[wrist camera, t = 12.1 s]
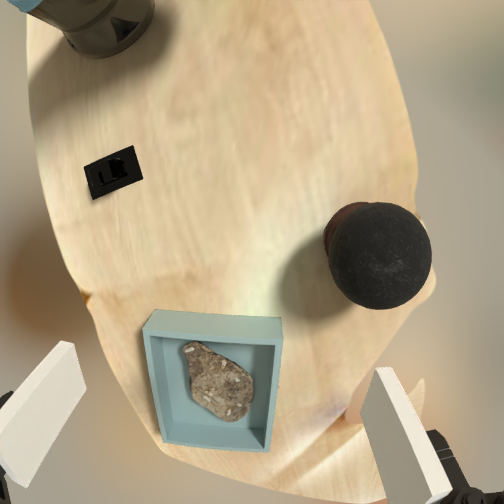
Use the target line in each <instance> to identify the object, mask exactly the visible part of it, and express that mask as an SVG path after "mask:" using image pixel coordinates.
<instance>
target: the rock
mask: <svg viewBox="0 0 504 504" xmlns="http://www.w3.org/2000/svg"><path fill="white" fill-rule="evenodd" d="M183 353H184V355H185V357H186V359H187V362H188V365H189V377H190V379H189V384H190V391H191V392H192V394H193V399H194V400H195V401H196V402H197V403H198V404H199V405H202V406H203V407H205V408H208V409H209V410H210V411H212V412H213V413H214V414H215V415H216V416H218V417H220V418H221V419H222V420H224V421H225V422H235V421H238V420H239V419H241V418H243V417H244V416H245V415H246V414H247V412H248V411H249V410H250V406H251V404H250V403H251V402H252V400H253V397H254V387H253V379H252V377H251V375H250V374H249V373H248V372H247V371H245V370H244V369H243V368H242V367H241V366H239V365H238V364H237V363H236V362H234V361H231V360H229V359H228V358H226V357H224V356H222V355H220V354H217V353H215V352H214V351H213V350H212V349H210V348H208V347H207V346H206V345H204V344H203V343H201V342H200V341H193V342H191V343H188V344H186V345H185V346H184V348H183Z"/></svg>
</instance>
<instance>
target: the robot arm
mask: <svg viewBox="0 0 504 504" xmlns="http://www.w3.org/2000/svg"><path fill="white" fill-rule="evenodd" d="M7 1H8V2H9V3H11V4H12V5H14V6H16V7H17V8H19V10H20V11H21V12H25V13H27V14H30V15H32V16H34V17H36V18H38V19H40V20H42V21H44V22H46V23H48V24H50V25H52V26H54V27H56V28H58V29H60V30H61V31H62V32H63V34H64V35H65V37H66V38H67V40H68V42H69V44H70V46H71V47H72V48H73V49H74V50H75V51H76V52H78V53H80V54H82V55H84V56H86V57H89V58H105V57H109V56H112V55H115V54H117V53H119V52H121V51H123V50H124V49H126V48H127V47H129V46H130V45H131V44H133V43H134V42H135V41H136V40H137V39H138V38H139V37H140V36H141V35H142V34H143V32H144V31H145V30H146V28H147V27H148V25H149V23H150V21H151V19H152V17H153V13H154V7H155V4H154V0H7ZM86 390H87V388H86V385H85V382H84V378H83V375H82V372H81V368H80V365H79V361H78V358H77V354H76V350H75V346H74V344H73V343H69V342H64V341H60V342H59V343H58V344H57V345H56V346H55V348H54V349H53V350H52V351H51V352H50V353H49V354H48V355H47V356H46V357H45V358H44V359H43V361H42V362H41V363H40V364H39V365H38V366H37V367H36V368H35V369H34V371H33V372H32V373H31V374H30V375H29V376H28V377H27V379H26V380H25V381H24V382H23V383H22V384H21V385H20V386H19V388H18V389H17V390H16V391H15V392H13V391H10V392H9V393H6V394H5V395H3V396H2V397H1V398H0V504H11V501H10V497H9V492H8V488H7V483H6V480H5V478H4V477H3V476H4V475H5V473H7V474H8V475H9V476H10V478H11V479H12V480H13V481H15V482H16V483H18V484H20V485H22V486H24V487H25V488H27V487H28V485H29V484H30V482H31V480H32V478H33V476H34V475H35V473H36V471H37V469H38V468H39V466H40V464H41V462H42V460H43V459H44V457H45V456H46V454H47V452H48V451H49V449H50V447H51V446H52V444H53V442H54V441H55V439H56V437H57V436H58V434H59V432H60V431H61V429H62V427H63V426H64V424H65V422H66V421H67V419H68V418H69V416H70V414H71V413H72V412H73V410H74V408H75V407H76V405H77V404H78V402H79V401H80V399H81V397H82V396H83V394H84V393H85V391H86ZM360 415H361V418H362V420H363V424H364V427H365V430H366V433H367V436H368V439H369V442H370V445H371V448H372V451H373V454H374V457H375V461H376V464H377V467H378V470H379V473H380V477H381V480H382V483H383V487H384V490H385V493H386V497H387V500H388V503H389V504H504V491H503V492H496V493H486V494H485V493H483V492H482V491H481V490H479V489H477V488H473V487H470V486H469V484H468V483H467V481H466V479H465V477H464V475H463V473H462V471H461V469H460V467H459V465H458V463H457V461H456V459H455V457H453V453H452V451H451V449H449V445H448V443H447V441H446V440H445V438H444V437H443V436H442V435H441V434H440V433H439V432H438V431H437V430H430V431H425V430H424V428H423V426H422V424H421V422H420V420H419V418H418V416H417V414H416V412H415V410H414V408H413V406H412V404H411V402H410V400H409V399H408V397H407V395H406V393H405V391H404V389H403V387H402V386H401V384H400V382H399V380H398V378H397V376H396V375H395V373H394V371H393V369H392V367H386V368H376V369H375V372H374V375H373V378H372V381H371V384H370V386H369V389H368V392H367V395H366V398H365V400H364V403H363V406H362V409H361V411H360Z"/></svg>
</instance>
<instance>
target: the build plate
mask: <svg viewBox="0 0 504 504" xmlns="http://www.w3.org/2000/svg"><path fill="white" fill-rule="evenodd" d="M84 171H85V175H86V178H87V182H88V186H89V189H90V193H91V196H92V199H93V200H94V199H97V198H99V197H101V196H103V195H106V194H108V193H110V192H113V191H115V190H118V189H120V188H122V187H125V186H127V185H130V184H132V183H135V182H137V181H140V180H142V179H143V176H142V172H141V169H140V166H139V163H138V160H137V156H136V153H135V150H134V146H133V145H132V146H129V147H127V148H125V149H122V150H120V151H118V152H115V153H113V154H111V155H108V156H106V157H104V158H102V159H99V160H97V161H95V162H93V163H91V164H89V165H86V166H84Z"/></svg>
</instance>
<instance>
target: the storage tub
mask: <svg viewBox="0 0 504 504" xmlns="http://www.w3.org/2000/svg"><path fill="white" fill-rule="evenodd" d="M142 331H143V338H144V345H145V352H146V358H147V365H148V371H149V377H150V382H151V388H152V393H153V398H154V403H155V408H156V413H157V418H158V423H159V427H160V431H161V436H162V440H163V442H164V443H170V444H176V445H183V446H191V447H199V448H208V449H218V450H230V451H246V452H269V451H270V444H271V437H272V429H273V422H274V414H275V406H276V398H277V390H278V382H279V373H280V365H281V356H282V347H283V333H282V324H281V317H258V316H239V315H222V314H207V313H194V312H181V311H170V310H159V309H155V311H154V312H153V313H152V315H151V316H150V318H149V319H148V321H147V322H146V324H145V325H144V327H143V328H142ZM193 341H200V342H201V343H203V344H204V345H206V346H207V347H208V348H210V349H212V350H213V351H214V352H215V353H217V354H220V355H222V356H224V357H226V358H228V359H229V360H231V361H234V362H236V363H237V364H238V365H239V366H241V367H242V368H243V369H244V370H245V371H247V372H248V373H249V374H250V375H251V377H252V379H253V387H254V397H253V400H252V402H251V403H250V404H251V406H250V410H249V411H248V412H247V414H246V415H245V416H244V417H243V418H241V419H239V420H238V421H235V422H225V421H224V420H222V419H221V418H220V417H218V416H216V415H215V414H214V413H213V412H212V411H210V410H209V409H208V408H205V407H203V406H202V405H199V404H198V403H197V402H196V401H195V400H194V399H193V394H192V392H191V391H190V384H189V379H190V377H189V365H188V362H187V359H186V357H185V355H184V353H183V348H184V346H185V345H186V344H188V343H191V342H193Z"/></svg>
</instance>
